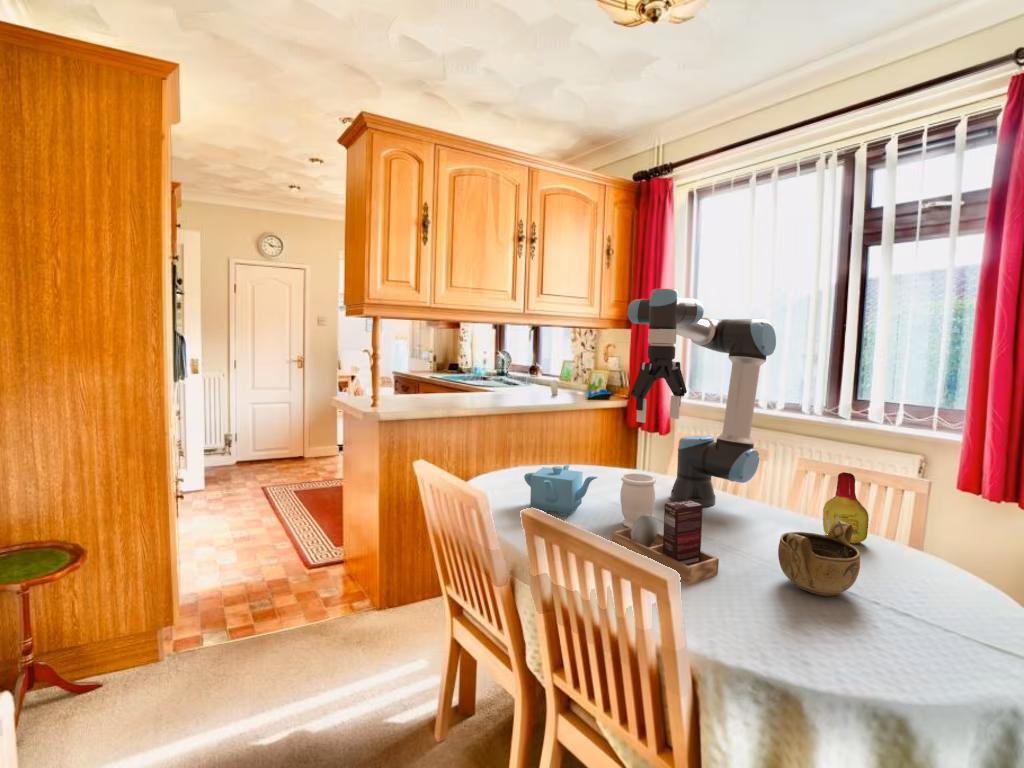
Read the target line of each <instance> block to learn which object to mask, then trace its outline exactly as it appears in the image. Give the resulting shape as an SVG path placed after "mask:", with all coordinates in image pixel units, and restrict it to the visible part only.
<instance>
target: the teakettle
mask: <svg viewBox="0 0 1024 768" xmlns="http://www.w3.org/2000/svg"><path fill="white" fill-rule="evenodd" d="M569 468H570V464H569V463H566V464H564V466H563V467H562V466H557V465H556V466H553V467H545V466H544V467H541V468H539V470H537V471H535V472H528V473H526V474H524V480H525V483H526V484H527V485H528V486H529V487H530V502H529V508H530V507H533V508H532V509H536V508H537V509H538V510H539V509H540V510H542V511H544V512H547V513H548V511H550V512H556V513H557V512H558V516H559V517H560V518H568V517H569V514H571V515H572V514H574V512H575V511H576V509H578V508H579V506H580V505H581V504H582V502H583V501H582V500H583V499H584V496H585V495H586V494H587V491H588V489H589V486H590V484H591V483H592V481H593V480H595V479H598V476H587V477H586V478H585V479H584V482H583V471H579V470H570V469H569ZM582 498H583V499H582Z"/></svg>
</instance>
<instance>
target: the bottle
mask: <svg viewBox="0 0 1024 768" xmlns="http://www.w3.org/2000/svg"><path fill="white" fill-rule="evenodd" d="M822 511H823V512H822V515H823V516H822V517H823V518H822V527H823V531H824V534H825V535H827V534H829V532H830V529H831V527H832V525H833V524H834V522H835V521H837V520H838V521H842V522H845V523H848V524H850V525H852V527H853V532H852V536H851V540H850V542H851V543H850V544H853V543H858V544H860V543H862V542H864V541H866V539H867V537H868V532H869V531H868V529H869V519H870V518H869V513H868V511H867V509H866V508H865V506H863V505H862V503H861V502H860V501H859V500H858V498H857V494H856V477H855V476H854V474H853V473H851V472H845V471H844V472H840V473H839V474H838V475H837V483H836V491H835V496H833V497H832V498H830V499H829V500H827V501H826V502H825V503H824V506H823V509H822Z"/></svg>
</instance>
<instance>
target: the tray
mask: <svg viewBox="0 0 1024 768" xmlns="http://www.w3.org/2000/svg"><path fill="white" fill-rule="evenodd" d="M658 530H659V525H658V522H657V519H656V518H655V517H654V516H650V515H647V514H645V515H641V516H640V517H638V518H637V519H636V521H635V522H634V524H633V527H632V528H629V527H627V528H625V529H620V530H616V531H613V532H611V542H612V541H613V542H615V543H617V544H619V545H621V546H624V547H626V548H627V549H629V550H632V551H634V552H636V553H639V554H641V555H644V556H647V557H648V558H651V559H653V560H655V561H657V562H659V563H661V564H663V565H665V566H667V567H670V568H672V569H674V570H676V571H677V572H678V573H679V574H680V577H681V580H680V581H681V582H683V583H685V584H687V585H691V584H693V583H696V582H698V581H702V580H704V579H707V578H711V577H714V576H717V575H719V562H720V561H719V560H720V558H718V557H716V556H714V555H711V554H709V553H707V552H704V551H702V550H701V553H700V563H697V564H694V565H691V566H687V565H685V564H683V563H681V562H679V561H676V560H674V559H672V558H670V557H668V556H666V555H663V533H662V534H661V533H659V532H658Z"/></svg>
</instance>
